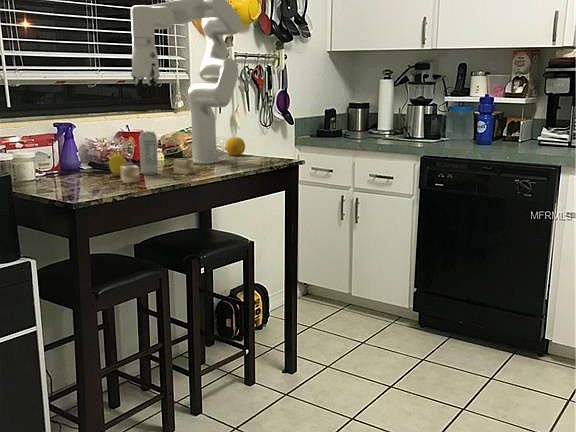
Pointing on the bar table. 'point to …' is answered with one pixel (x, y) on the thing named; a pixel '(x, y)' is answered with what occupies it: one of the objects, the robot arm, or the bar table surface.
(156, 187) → the bar table surface
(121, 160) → the lemon
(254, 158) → the bar table surface
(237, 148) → the fruit
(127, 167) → the maple block
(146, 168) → the energy drink can
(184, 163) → the maple block
